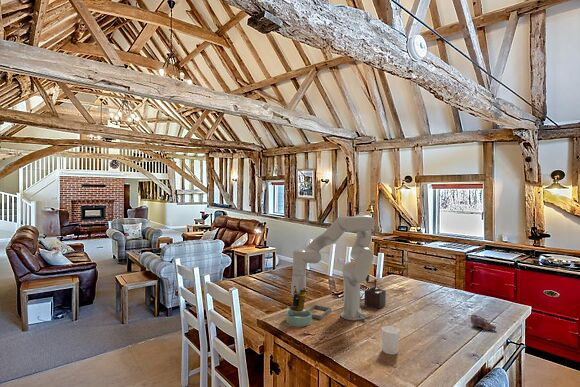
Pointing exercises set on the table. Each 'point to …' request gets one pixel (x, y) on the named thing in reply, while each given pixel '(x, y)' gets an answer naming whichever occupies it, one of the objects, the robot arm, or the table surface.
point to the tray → (321, 309)
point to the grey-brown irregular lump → (481, 322)
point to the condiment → (301, 302)
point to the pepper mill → (374, 296)
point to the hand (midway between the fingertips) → (298, 303)
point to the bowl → (299, 318)
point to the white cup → (390, 339)
